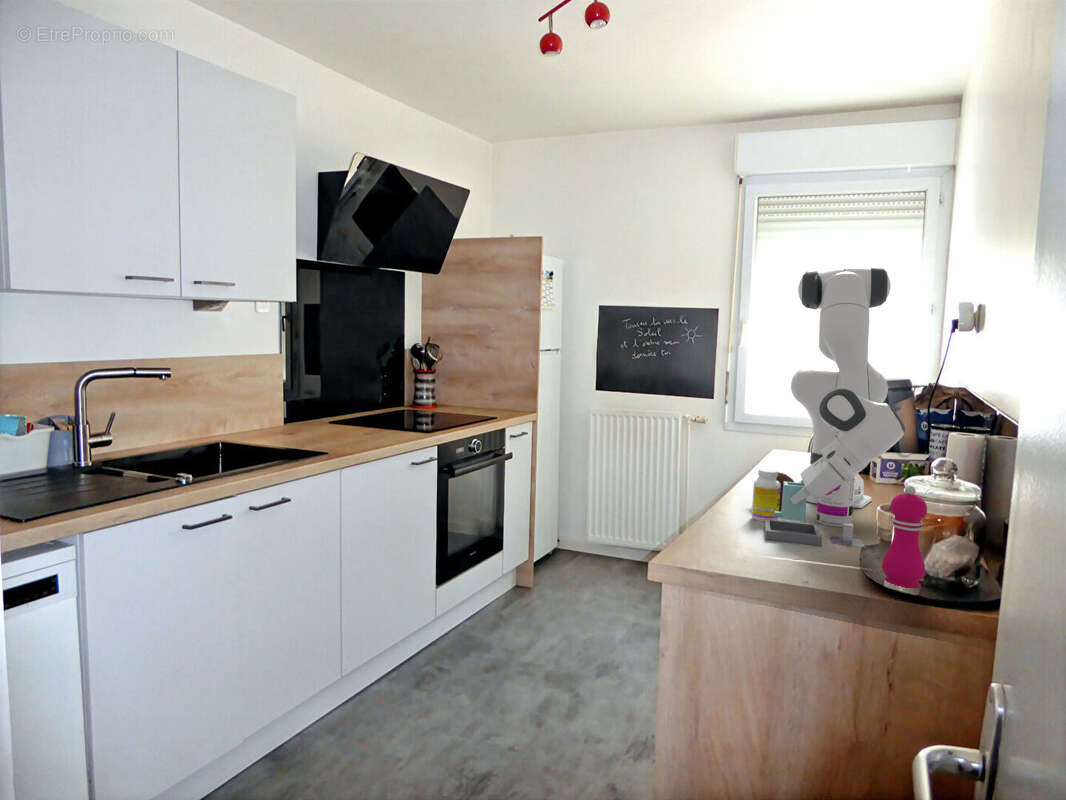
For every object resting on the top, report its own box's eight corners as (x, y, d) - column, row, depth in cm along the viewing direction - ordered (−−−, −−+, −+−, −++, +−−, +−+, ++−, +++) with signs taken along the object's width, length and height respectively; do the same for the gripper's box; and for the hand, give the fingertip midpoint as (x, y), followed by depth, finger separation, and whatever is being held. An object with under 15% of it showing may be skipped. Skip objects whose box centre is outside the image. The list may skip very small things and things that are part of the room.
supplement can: (835, 529, 181) (840, 470, 180) (809, 521, 188) (813, 464, 187) (857, 527, 185) (862, 468, 183) (831, 519, 192) (835, 462, 191)
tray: (764, 528, 179) (765, 518, 178) (816, 534, 175) (817, 524, 175) (765, 541, 167) (765, 530, 167) (821, 547, 164) (822, 536, 164)
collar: (774, 513, 174) (776, 480, 174) (803, 516, 172) (806, 483, 172) (775, 518, 169) (777, 484, 169) (804, 521, 168) (807, 487, 167)
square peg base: (829, 537, 173) (830, 519, 173) (861, 541, 171) (862, 522, 171) (832, 545, 166) (833, 526, 166) (865, 549, 165) (867, 529, 164)
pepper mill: (872, 584, 140) (881, 481, 138) (908, 584, 140) (917, 482, 139) (893, 597, 133) (903, 489, 131) (931, 598, 133) (941, 490, 132)
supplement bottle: (779, 524, 184) (783, 473, 183) (752, 521, 186) (756, 471, 184) (776, 517, 191) (780, 469, 190) (750, 515, 192) (753, 467, 191)
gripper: (825, 445, 177) (780, 480, 181) (834, 456, 158) (783, 496, 161) (844, 465, 176) (798, 500, 180) (855, 479, 157) (803, 518, 160)
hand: (791, 498), depth 171 cm, fingers closed on collar, 5 cm apart
